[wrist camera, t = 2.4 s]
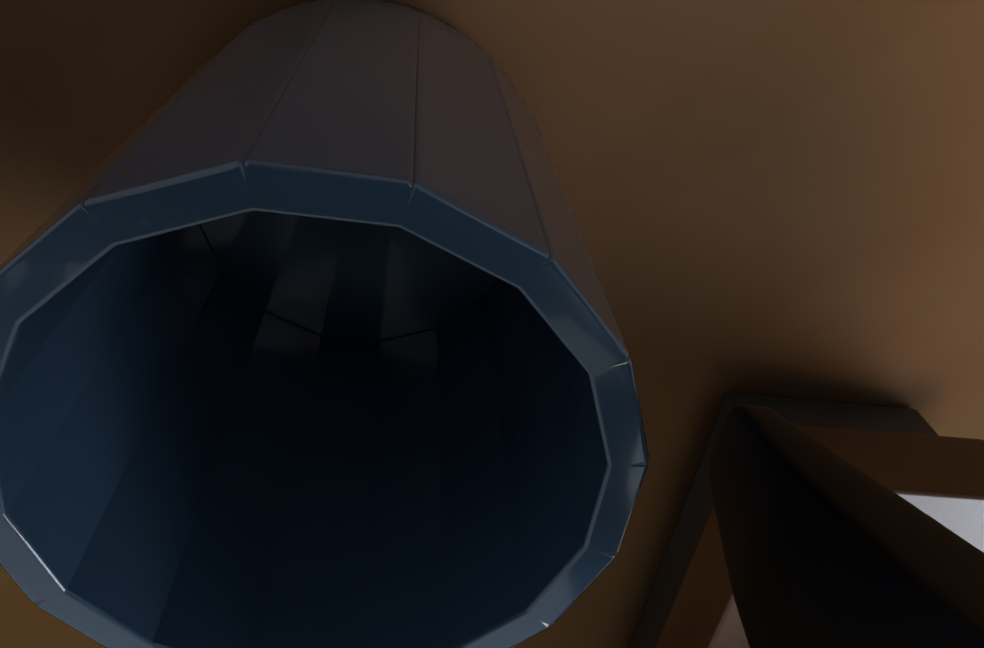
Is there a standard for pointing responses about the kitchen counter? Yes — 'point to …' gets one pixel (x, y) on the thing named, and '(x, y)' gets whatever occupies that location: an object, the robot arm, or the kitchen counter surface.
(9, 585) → the kitchen counter surface
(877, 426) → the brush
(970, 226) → the kitchen counter surface
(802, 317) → the kitchen counter surface
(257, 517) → the cup
